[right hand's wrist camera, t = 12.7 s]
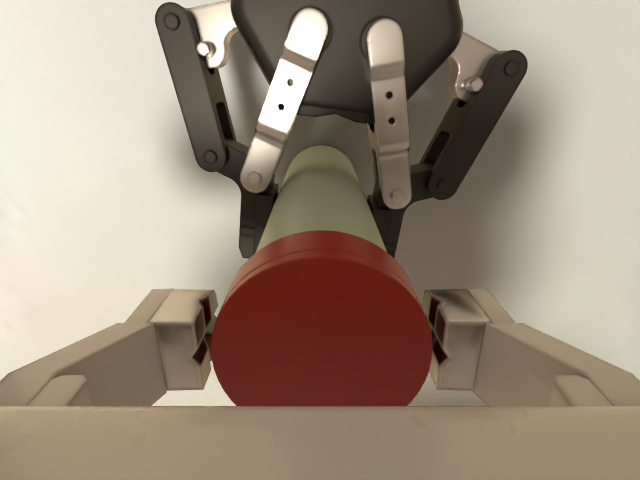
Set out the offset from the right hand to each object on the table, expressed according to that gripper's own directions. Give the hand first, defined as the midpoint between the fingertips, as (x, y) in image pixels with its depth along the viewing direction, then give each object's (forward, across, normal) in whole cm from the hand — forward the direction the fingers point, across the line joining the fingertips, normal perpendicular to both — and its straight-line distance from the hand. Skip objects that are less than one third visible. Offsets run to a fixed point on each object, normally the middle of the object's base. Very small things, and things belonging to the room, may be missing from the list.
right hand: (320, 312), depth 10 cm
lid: (-2, 0, 0) cm, 2 cm away
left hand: (+8, 0, -3) cm, 8 cm away
